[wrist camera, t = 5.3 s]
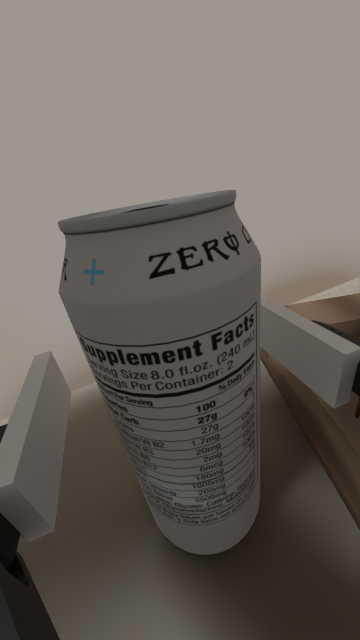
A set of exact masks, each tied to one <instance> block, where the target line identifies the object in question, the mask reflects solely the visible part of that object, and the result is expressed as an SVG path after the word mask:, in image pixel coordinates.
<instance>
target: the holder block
mask: <svg viewBox="0 0 360 640" xmlns="http://www.w3.org/2000/svg"><path fill="white" fill-rule="evenodd" d="M284 307H286V308H288V309H289V310H291V311H293V312H295V313H297V314H299V315H301V316H303V317H305V318H306V319H308V320H310V321H312V320H315V321H319V322H323V323H326V324H328V325H330V326H332V327H334V328H335V329H338V330H340V331H342V332H343V333H344V334H345V333H346V334H348V335H350V336H352V337H353V338H355V339H357V340H359V341H360V293H359V294H353V295H347V296H341V297H335V298H328V299H322V300H316V301H310V302H304V303H298V304H292V305H286V306H284ZM261 360H262V362H263V364H264V365H265V367H266V369H267V371H268V372H269V374H270V376H271V377H272V379H273V381H274V383H275V384H276V386H277V388H278V389H279V391H280V393H281V395H282V396H283V398H284V400H285V402H286V403H287V405H288V407H289V408H290V410H291V412H292V414H293V415H294V417H295V419H296V421H297V422H298V424H299V426H300V427H301V429H302V431H303V433H304V434H305V436H306V438H307V440H308V441H309V443H310V445H311V446H312V448H313V450H314V452H315V453H316V455H317V457H318V459H319V460H320V462H321V464H322V465H323V467H324V469H325V471H326V472H327V474H328V476H329V478H330V479H331V481H332V483H333V484H334V486H335V488H336V490H337V491H338V493H339V495H340V497H341V498H342V500H343V502H344V503H345V505H346V507H347V509H348V510H349V512H350V514H351V516H352V517H353V519H354V521H355V522H356V524H357V526H358V528H359V529H360V415H359V419H358V418H355V411H356V407H357V403H358V399H359V396H358V395H357V394H355V393H354V392H353V391H352V392H351V396H350V400H349V402H348V403H346V404H344V405H342V406H339V407H337V408H335V409H334V408H333V407H331V406H330V405H329V404H328V403H327V402H326V401H324V400H323V399H322V398H321V397H320V396H318V395H317V394H316V393H315V392H314V391H313V390H311V389H310V388H309V387H308V386H307V385H305V384H304V383H303V382H302V381H301V380H299V379H298V378H297V377H296V376H295V375H294V374H292V373H291V372H290V371H289V370H288V369H286V368H285V367H284V366H283V365H282V364H281V363H279V362H278V361H277V360H276V359H275V358H273V357H272V356H271V355H270V354H269V353H267V352H266V351H265V350H264V349H263V348H262V347H261Z"/></svg>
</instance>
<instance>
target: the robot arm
mask: <svg viewBox="0 0 360 640" xmlns="http://www.w3.org/2000/svg"><path fill="white" fill-rule="evenodd" d="M261 347H262V348H263V349H264V350H265V351H266V352H267V353H269V354H270V355H271V356H272V357H273V358H275V359H276V360H277V361H278V362H279V363H281V364H282V365H283V366H284V367H285V368H286V369H288V370H289V371H290V372H291V373H292V374H294V375H295V376H296V377H297V378H298V379H299V380H301V381H302V382H303V383H304V384H305V385H307V386H308V387H309V388H310V389H311V390H313V391H314V392H315V393H316V394H317V395H318V396H320V397H321V398H322V399H323V400H324V401H326V402H327V403H328V404H329V405H330V406H331V407H333V408H334V409H335V408H337V407H339V406H342V405H344V404H346V403H348V402H349V400H350V396H351V392H352V391H353V392H354V393H355V394H357V395H358V396H359V399H358V403H357V407H356V411H355V418H358V419H359V415H360V341H359V340H357V339H355V338H353V337H352V336H350V335H348V334H346V333H345V334H344V333H343V332H342V331H340V330H338V329H335V328H334V327H332V326H330V325H328V324H326V323H323V322H319V321H315V320H312V321H310V320H308V319H306V318H305V317H303V316H301V315H299V314H297V313H295V312H293V311H291V310H289V309H288V308H286V307H284V306H282V305H280V304H278V303H276V302H274V301H272V300H271V299H268V298H267V297H265V296H263V295H261ZM70 397H71V390H70V388H69V386H68V384H67V382H66V381H65V378H64V376H63V374H62V372H61V370H60V368H59V367H58V364H57V363H56V360H55V358H54V356H53V354H52V353H51V352H46V353H43V354H39V355H36V356H34V359H33V361H32V364H31V366H30V369H29V371H28V374H27V377H26V379H25V382H24V384H23V387H22V389H21V392H20V395H19V397H18V400H17V402H16V405H15V408H14V410H13V412H12V415H11V418H10V420H9V423H8V424H6V425H3V426H0V640H60V639H59V637H58V635H57V632H56V630H55V628H54V626H53V624H52V621H51V619H50V617H49V615H48V613H47V610H46V608H45V606H44V604H43V602H42V600H41V597H40V595H39V593H38V591H37V589H36V586H35V584H34V582H33V580H32V578H31V575H30V573H29V571H28V569H27V567H26V565H25V562H24V560H23V558H22V556H21V555H20V554H19V553H18V552H17V551H16V550H17V546H18V541H19V537H20V535H21V536H22V537H23V538H24V539H25V540H26V541H27V542H28V543H29V542H31V541H34V540H36V539H38V538H40V537H43V536H45V535H47V534H50V533H52V532H54V531H55V524H56V515H57V507H58V498H59V490H60V482H61V473H62V465H63V456H64V448H65V439H66V431H67V423H68V414H69V406H70Z"/></svg>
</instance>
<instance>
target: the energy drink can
mask: <svg viewBox="0 0 360 640" xmlns="http://www.w3.org/2000/svg"><path fill="white" fill-rule="evenodd" d="M235 199H236V191H235V190H226V191H218V192H211V193H204V194H198V195H191V196H185V197H179V198H173V199H167V200H161V201H156V202H149V203H144V204H138V205H133V206H128V207H123V208H117V209H112V210H107V211H102V212H97V213H92V214H87V215H83V216H78V217H74V218H70V219H65V220H62V221H59V222H58V225H59V228H60V230H61V231H62V232H63V233H64V234H65V239H66V248H65V256H64V262H63V269H62V274H61V280H60V287H59V294H60V297H61V299H62V301H63V304H64V306H65V309H66V311H67V313H68V316H69V318H70V321H71V323H72V325H73V327H74V330H75V332H76V335H77V337H78V339H79V342H80V344H81V346H82V349H83V351H84V354H85V356H86V358H87V361H88V363H89V365H90V368H91V370H92V373H93V375H94V377H95V380H96V382H97V384H98V387H99V389H100V392H101V394H102V396H103V399H104V401H105V403H106V406H107V408H108V410H109V413H110V415H111V418H112V420H113V422H114V425H115V427H116V429H117V432H118V434H119V436H120V439H121V441H122V444H123V446H124V448H125V451H126V453H127V455H128V458H129V460H130V462H131V465H132V467H133V470H134V472H135V474H136V477H137V479H138V481H139V484H140V486H141V488H142V491H143V493H144V496H145V498H146V500H147V503H148V505H149V507H150V510H151V512H152V514H153V517H154V519H155V521H156V523H157V526H158V527H159V529H160V530H161V531H162V533H163V534H164V535H165V537H166V538H167V539H169V540H170V541H171V542H172V543H173V544H174V545H175V546H177V547H179V548H181V549H183V550H185V551H187V552H191V553H195V554H199V555H204V554H216V553H219V552H223V551H226V550H228V549H229V548H231V547H233V546H234V545H236V544H237V543H238V542H239V541H240V540H241V539H242V538H243V537H244V536H245V535H246V534H247V533H248V531H249V530H250V528H251V527H252V525H253V523H254V521H255V518H256V515H257V513H258V509H259V502H260V361H261V257H260V253H259V250H258V249H257V247H256V245H255V243H254V242H253V240H252V238H251V237H250V235H249V233H248V232H247V230H246V229H245V227H244V225H243V223H242V222H241V220H240V218H239V217H238V215H237V212H236V210H235V206H234V202H235Z"/></svg>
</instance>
